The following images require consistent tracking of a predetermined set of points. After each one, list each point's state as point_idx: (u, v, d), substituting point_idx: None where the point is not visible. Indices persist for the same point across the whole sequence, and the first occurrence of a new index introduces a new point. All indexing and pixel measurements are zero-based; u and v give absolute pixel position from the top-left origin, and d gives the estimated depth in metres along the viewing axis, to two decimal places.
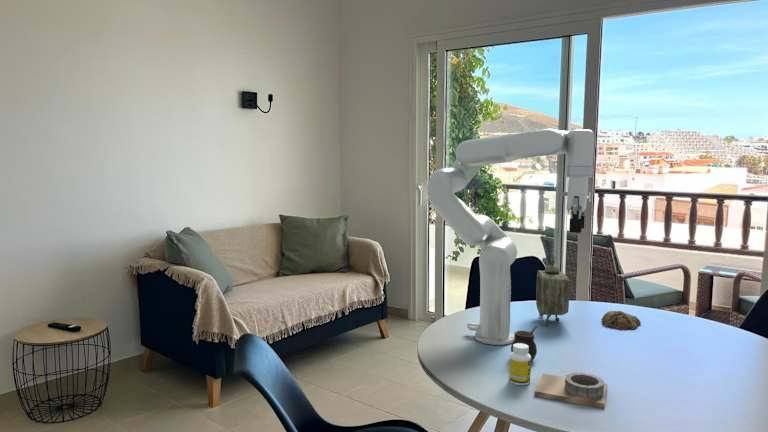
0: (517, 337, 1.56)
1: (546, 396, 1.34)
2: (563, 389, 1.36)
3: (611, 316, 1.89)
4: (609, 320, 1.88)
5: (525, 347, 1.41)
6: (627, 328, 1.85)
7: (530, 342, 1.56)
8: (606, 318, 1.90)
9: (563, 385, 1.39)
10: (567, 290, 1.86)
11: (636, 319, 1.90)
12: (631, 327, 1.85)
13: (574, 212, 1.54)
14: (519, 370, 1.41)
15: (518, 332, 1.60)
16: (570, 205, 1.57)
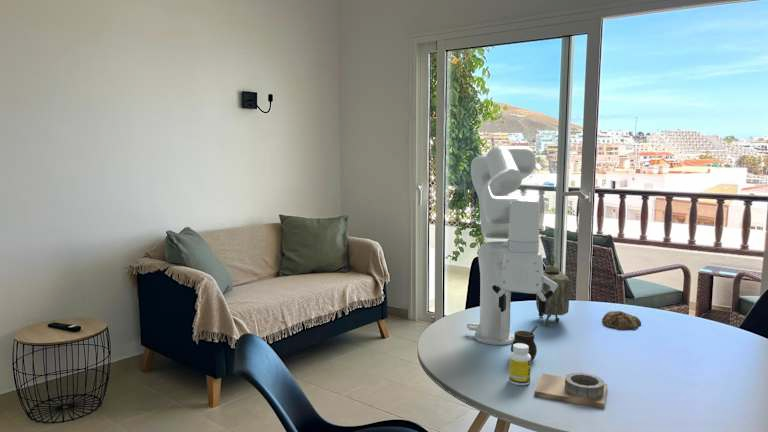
0: (517, 337, 1.56)
1: (546, 396, 1.34)
2: (563, 389, 1.36)
3: (612, 316, 1.89)
4: (610, 320, 1.88)
5: (525, 347, 1.41)
6: (628, 328, 1.85)
7: (530, 342, 1.56)
8: (607, 318, 1.90)
9: (563, 385, 1.39)
10: (567, 290, 1.86)
11: (637, 319, 1.90)
12: (632, 327, 1.85)
13: (553, 292, 1.37)
14: (519, 370, 1.41)
15: (518, 332, 1.60)
16: (541, 286, 1.37)
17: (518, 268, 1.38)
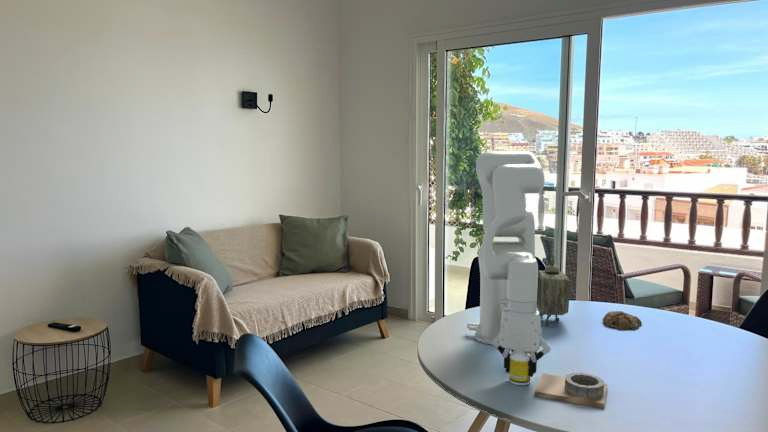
0: None
1: (546, 396, 1.34)
2: (563, 389, 1.36)
3: (613, 316, 1.89)
4: (610, 320, 1.88)
5: None
6: (628, 328, 1.85)
7: None
8: (607, 318, 1.89)
9: (563, 385, 1.39)
10: (567, 290, 1.86)
11: (637, 319, 1.90)
12: (632, 327, 1.85)
13: (543, 355, 1.40)
14: (519, 370, 1.41)
15: None
16: None
17: (516, 327, 1.40)
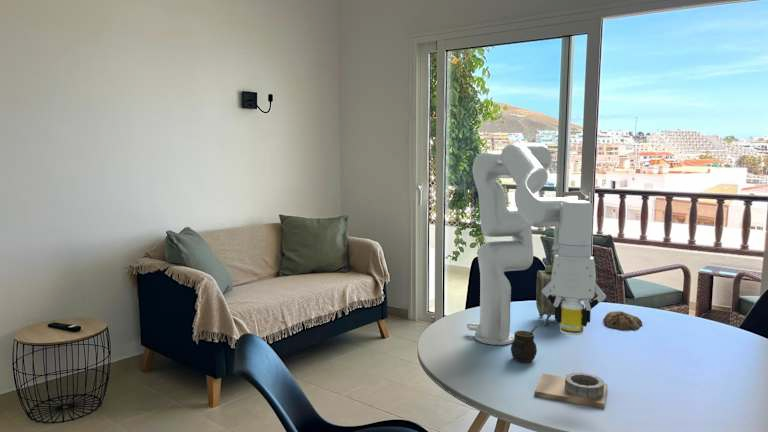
0: (517, 337, 1.56)
1: (546, 396, 1.34)
2: (563, 389, 1.36)
3: (613, 316, 1.89)
4: (611, 320, 1.88)
5: None
6: (629, 329, 1.85)
7: (530, 342, 1.56)
8: (608, 318, 1.89)
9: (563, 385, 1.39)
10: None
11: (638, 319, 1.90)
12: (633, 328, 1.85)
13: None
14: (572, 319, 1.33)
15: (518, 332, 1.60)
16: None
17: (569, 273, 1.32)
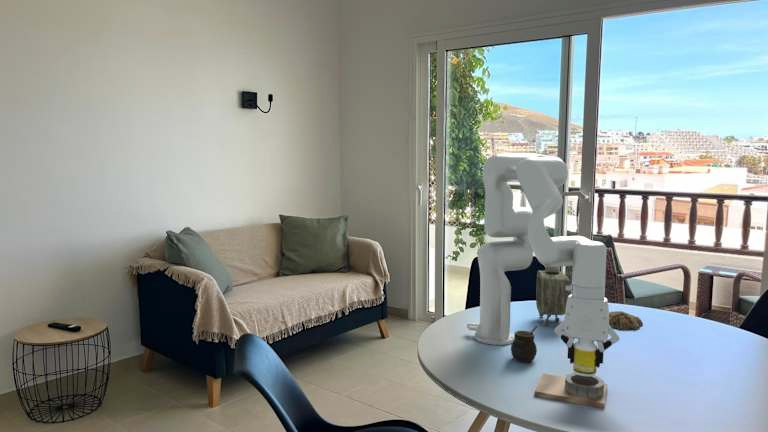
0: (517, 337, 1.56)
1: (546, 396, 1.34)
2: (563, 389, 1.36)
3: (614, 316, 1.89)
4: (611, 321, 1.88)
5: None
6: (629, 329, 1.85)
7: (530, 342, 1.56)
8: None
9: (563, 385, 1.39)
10: None
11: (638, 320, 1.89)
12: (633, 328, 1.85)
13: (611, 344, 1.32)
14: (586, 360, 1.32)
15: (518, 332, 1.60)
16: None
17: (583, 314, 1.31)
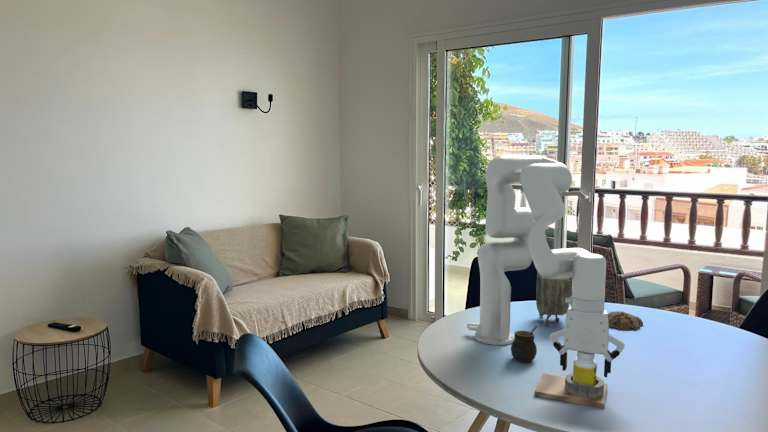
0: (517, 337, 1.56)
1: (546, 396, 1.34)
2: (563, 389, 1.36)
3: (614, 316, 1.88)
4: (611, 321, 1.88)
5: (591, 353, 1.33)
6: (630, 329, 1.85)
7: (530, 342, 1.56)
8: (608, 319, 1.89)
9: (563, 385, 1.39)
10: (567, 290, 1.86)
11: (638, 320, 1.89)
12: (634, 328, 1.85)
13: (619, 353, 1.31)
14: (585, 377, 1.33)
15: (518, 332, 1.60)
16: None
17: (583, 327, 1.32)
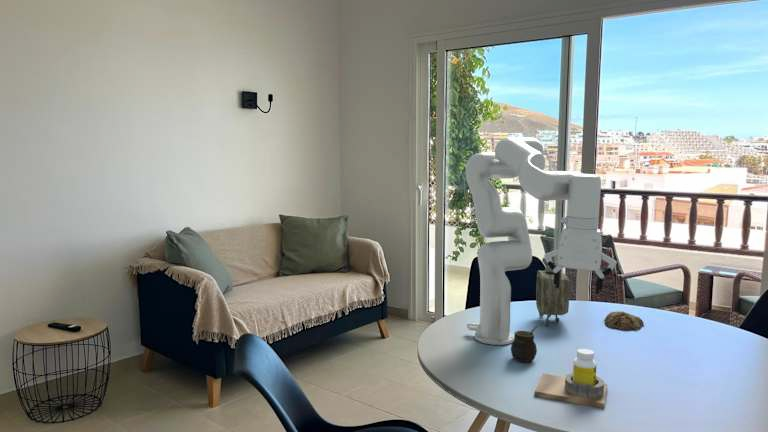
0: (517, 337, 1.56)
1: (546, 396, 1.34)
2: (563, 389, 1.36)
3: (614, 317, 1.88)
4: (612, 321, 1.88)
5: (590, 353, 1.33)
6: (630, 329, 1.84)
7: (530, 342, 1.56)
8: (609, 319, 1.89)
9: (563, 385, 1.39)
10: (567, 290, 1.86)
11: (639, 320, 1.89)
12: (634, 328, 1.84)
13: (611, 270, 1.35)
14: (585, 377, 1.33)
15: (518, 332, 1.60)
16: (600, 263, 1.35)
17: (576, 245, 1.35)
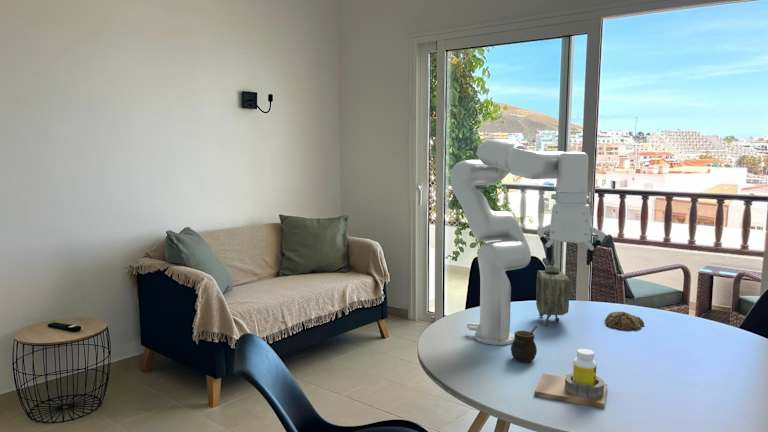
0: (517, 337, 1.56)
1: (546, 396, 1.34)
2: (563, 389, 1.36)
3: (615, 317, 1.88)
4: (612, 321, 1.87)
5: (590, 353, 1.33)
6: (631, 329, 1.84)
7: (530, 342, 1.56)
8: (609, 319, 1.89)
9: (563, 385, 1.39)
10: (567, 290, 1.86)
11: (640, 320, 1.89)
12: (635, 328, 1.84)
13: None
14: (585, 377, 1.33)
15: (518, 332, 1.60)
16: (590, 235, 1.42)
17: (567, 218, 1.43)
